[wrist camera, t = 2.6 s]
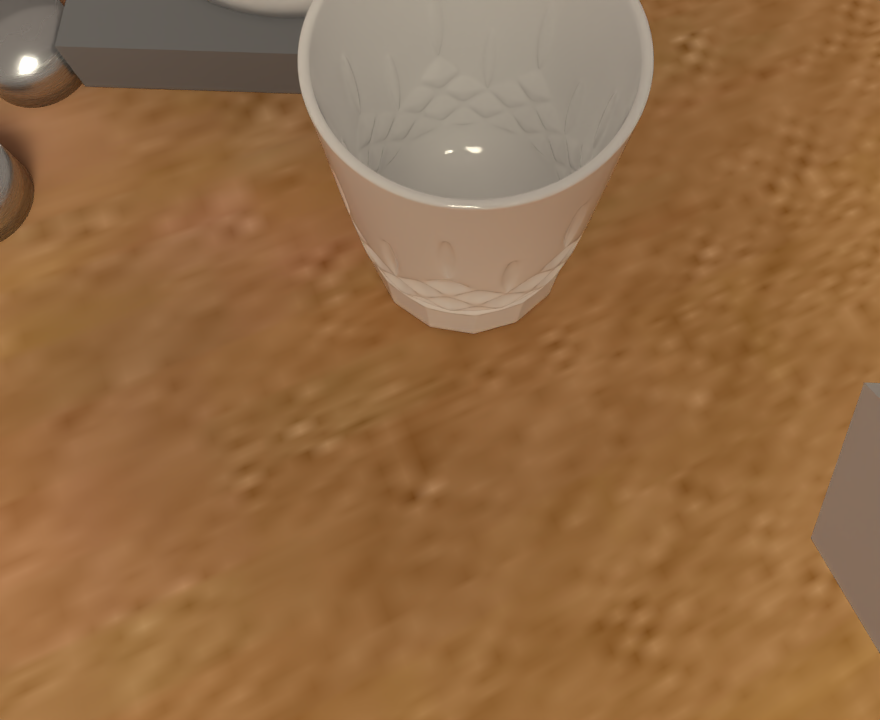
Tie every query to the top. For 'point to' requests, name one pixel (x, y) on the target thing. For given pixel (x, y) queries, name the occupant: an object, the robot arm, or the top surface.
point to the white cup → (473, 138)
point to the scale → (184, 43)
